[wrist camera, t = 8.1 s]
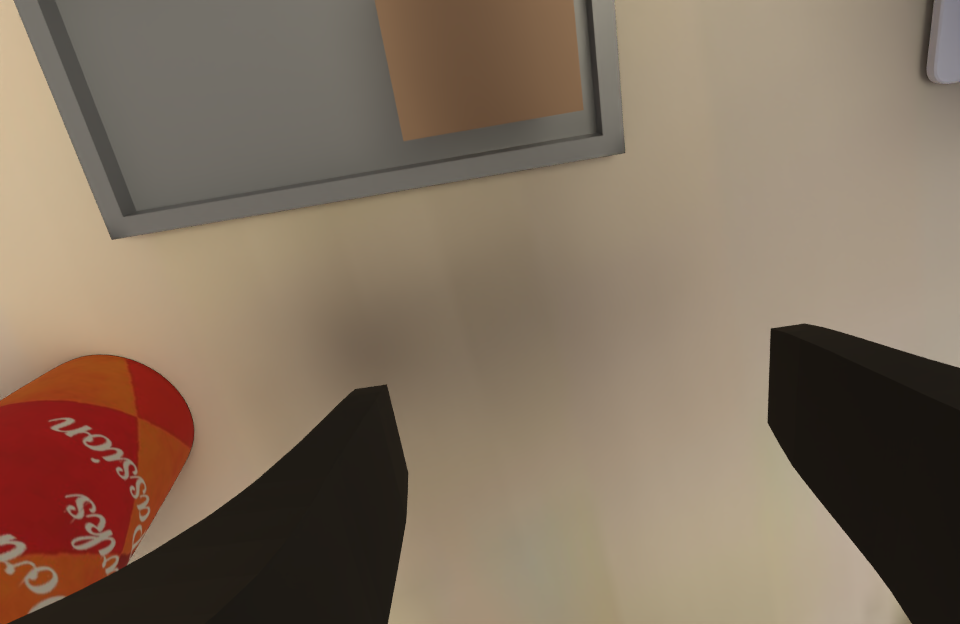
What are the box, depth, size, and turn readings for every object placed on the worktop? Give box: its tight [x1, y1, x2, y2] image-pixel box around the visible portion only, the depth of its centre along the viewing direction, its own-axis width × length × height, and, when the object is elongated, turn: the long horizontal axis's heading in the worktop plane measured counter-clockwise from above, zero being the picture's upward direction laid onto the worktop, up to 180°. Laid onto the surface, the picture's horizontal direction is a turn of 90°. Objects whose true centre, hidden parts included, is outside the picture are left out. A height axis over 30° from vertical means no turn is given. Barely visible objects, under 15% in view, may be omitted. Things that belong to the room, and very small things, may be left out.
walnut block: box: [375, 0, 584, 141], centre depth 15 cm, size 4×4×5 cm
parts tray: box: [14, 0, 625, 240], centre depth 17 cm, size 16×8×1 cm, turn 99°
